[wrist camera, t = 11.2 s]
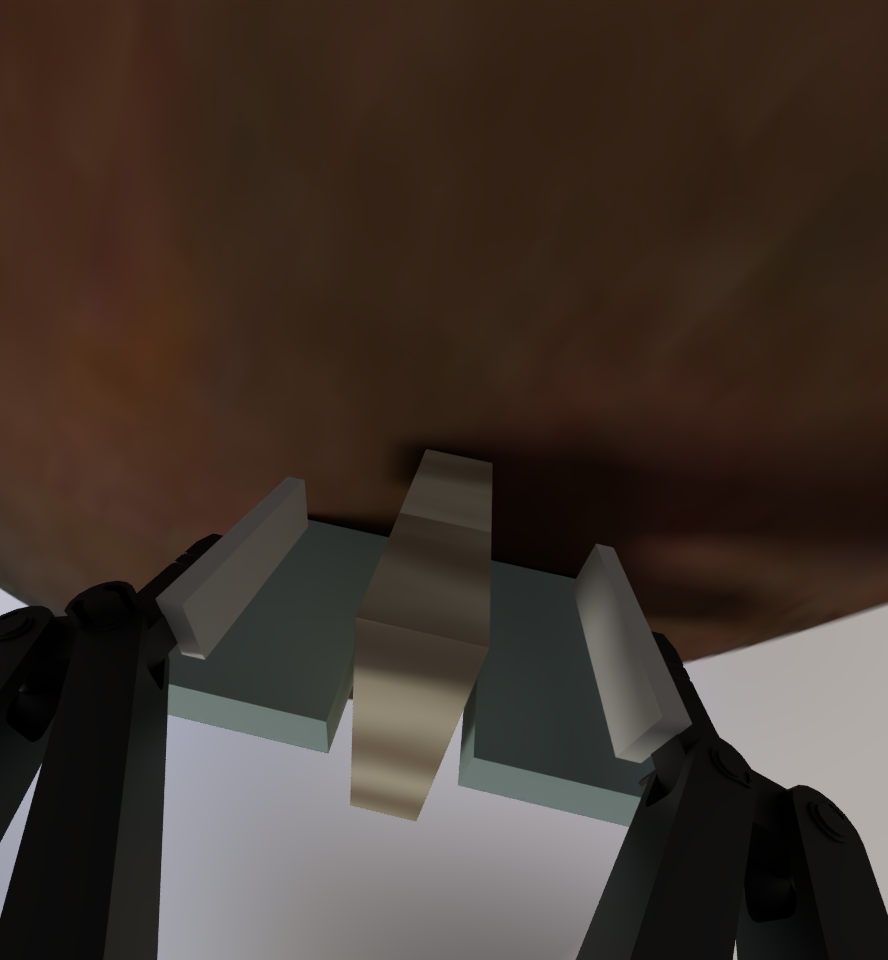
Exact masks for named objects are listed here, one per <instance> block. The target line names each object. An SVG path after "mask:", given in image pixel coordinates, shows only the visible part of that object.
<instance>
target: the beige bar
mask: <svg viewBox="0 0 888 960" xmlns="http://www.w3.org/2000/svg"><path fill="white" fill-rule="evenodd" d="M492 466H493V463H490V462H485V461H480V460H476V459H471V458H466V457H461V456H457V455H452V454H447V453H442V452H438V451H433V450H428V449H426V451H425V453H424V456H423V458H422V460H421V463H420V465H419V468H418V470H417V472H416V475H415V477H414V479H413V482H412V484H411V487H410V489H409V491H408V494H407V496H406V498H405V501H404V503H403V506H402V508H401V510H400V513H399V515H398V517H397V520H396V522H395V525H394V527H393V529H392V532H391V534H390V536H389V539H388V541H387V544H386V546H385V548H384V551H383V553H382V555H381V558H380V560H379V563H378V565H377V567H376V570H375V572H374V574H373V577H372V579H371V582H370V584H369V586H368V589H367V591H366V593H365V596H364V598H363V601H362V603H361V605H360V608H359V610H358V612H357V615H356V617H355V653H354V690H353V728H352V763H351V800H350V805H352V806H356V807H360V808H364V809H368V810H372V811H376V812H380V813H384V814H388V815H392V816H396V817H401V818H404V819H409V820H413V821H417V818H418V816H419V814H420V811H421V809H422V806H423V804H424V802H425V799H426V797H427V795H428V792H429V790H430V788H431V785H432V783H433V780H434V778H435V775H436V773H437V771H438V769H439V766H440V764H441V761H442V759H443V757H444V754H445V752H446V750H447V747H448V745H449V743H450V740H451V738H452V735H453V733H454V730H455V728H456V726H457V724H458V721H459V719H460V716H461V714H462V712H463V709H464V707H465V705H466V702H467V700H468V697H469V695H470V693H471V690H472V688H473V686H474V683H475V681H476V679H477V676H478V674H479V671H480V669H481V667H482V664H483V662H484V660H485V657H486V655H487V652H488V650H489V646H490V586H491V526H492Z"/></svg>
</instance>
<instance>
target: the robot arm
mask: <svg viewBox="0 0 888 960" xmlns="http://www.w3.org/2000/svg"><path fill="white" fill-rule="evenodd" d="M307 528H308V519H307V506H306V493H305V480H302V479H297V478H293V477H287V478H286V479H285V480H284V481H283V482H281V483H280V484H279V485H278V486H277V487H276V488H275V489H274V490H273V491H272V492H271V493H270V494H268V495H267V496H266V497H265V498H264V499H263V500H262V501H261V502H260V503H259V504H258V505H257V506H255V507H254V508H253V509H252V510H251V511H250V512H249V513H248V514H247V515H246V516H245V517H244V518H242V519H241V520H240V521H239V522H238V523H237V524H236V525H235V526H234V527H233V528H232V529H230V530H229V531H228V532H227V533H226V534H225V535H224V536H222V535H218V534H211V535H209V536H207V537H205V538H203V539H201V540H199V541H197V542H196V543H195V544H194V545H193V546H191V547H190V548H189V549H188V550H187V551H186V552H185V553H184V555H181V556H180V557H179V558H177V559H176V560H175V561H174V563H173V564H170V565H169V566H168V567H167V568H166V569H165V570H163V571H162V572H161V573H160V574H159V575H158V576H156V577H155V578H154V579H153V580H152V581H151V582H149V583H148V584H147V585H146V586H145V587H144V588H142V589H141V590H140V591H139V592H138V593H137V594H136V592H135V590H134V588H133V586H132V585H130V584H129V583H127V582H122V581H113V582H105V583H102V584H99V585H96V586H93V587H91V588H89V589H87V590H85V591H84V592H82V593H80V594H78V595H77V596H76V597H75V598H74V599H73V600H71V601H70V602H69V604H68V605H67V607H66V609H65V610H64V611H65V612H66V614H67V615H68V616H61V617H55V616H54V615H53V613H52V612H51V611H50V609H48V608H46V607H43V606H28V607H24V608H20V609H16V610H13V611H11V612H8V613H6V614H3V615H1V616H0V842H1V840H2V838H3V836H4V834H5V832H6V830H7V828H8V827H9V825H10V823H11V821H12V819H13V817H14V815H15V813H16V811H17V809H18V808H19V805H20V804H21V802H22V800H23V798H24V796H25V794H26V792H27V791H28V789H29V787H30V785H31V783H32V781H33V779H34V777H35V775H36V773H37V771H38V770H39V768H40V766H41V764H42V766H41V769H40V773H39V777H38V781H37V784H36V788H35V792H34V795H33V799H32V803H31V806H30V810H29V814H28V817H27V821H26V825H25V829H24V832H23V836H22V840H21V844H20V847H19V851H18V854H17V858H16V862H15V865H14V869H13V873H12V877H11V880H10V884H9V887H8V891H7V895H6V899H5V903H4V906H3V910H2V913H1V917H0V960H157V951H158V928H159V904H160V881H161V880H160V879H161V856H162V831H163V809H164V786H165V761H166V738H167V715H168V691H169V668H170V659H169V655H168V654H169V653H170V651H171V650H172V649H173V648H174V647H175V646H176V645H178V647H179V649H180V651H181V653H182V654H183V655H187V656H192V657H196V658H200V659H204V660H205V659H206V658H207V657H208V655H209V654H210V653H211V651H212V650H213V649H214V648H215V646H216V645H217V644H218V642H219V641H220V640H221V639H222V637H223V636H224V635H225V633H226V632H227V631H228V630H229V628H230V627H231V626H232V624H233V623H234V622H235V620H236V619H237V618H238V617H239V615H240V614H241V613H242V611H243V610H244V609H245V608H246V606H247V605H248V604H249V602H250V601H251V600H252V599H253V597H254V596H255V595H256V593H257V592H258V591H259V590H260V588H261V587H262V586H263V584H264V583H265V582H266V581H267V579H268V578H269V577H270V575H271V574H272V573H273V572H274V570H275V569H276V568H277V566H278V565H279V564H280V562H281V561H282V560H283V559H284V557H285V556H286V555H287V553H288V552H289V551H290V550H291V548H292V547H293V546H294V544H295V543H296V542H297V541H298V539H299V538H300V537H301V535H302V534H303V533H304V532H305V530H306V529H307ZM572 587H573V591H574V595H575V599H576V603H577V607H578V611H579V614H580V618H581V622H582V626H583V630H584V634H585V638H586V642H587V646H588V650H589V654H590V658H591V662H592V666H593V670H594V674H595V677H596V681H597V685H598V689H599V693H600V697H601V701H602V705H603V709H604V713H605V717H606V721H607V725H608V729H609V733H610V737H611V741H612V744H613V748H614V752H615V756H616V757H617V758H621V759H625V760H629V761H633V762H638V763H642V762H643V761H644V760H646V759H647V758H648V757H650V756H651V757H652V760H653V763H654V766H655V770H654V771H652V772H651V773H649V774H648V775H646V776H645V777H644V778H642V779H641V780H640V782H639V783H638V784H639V785H640V786H641V787H643V786H644V785H646V784H647V785H646V787H645V790H644V792H643V795H642V797H641V799H640V802H639V804H638V807H637V809H636V812H635V814H634V817H633V819H632V822H631V824H630V827H629V829H628V832H627V834H626V837H625V839H624V842H623V844H622V847H621V849H620V852H619V854H618V857H617V859H616V861H615V864H614V867H613V869H612V871H611V874H610V876H609V879H608V881H607V884H606V886H605V889H604V891H603V894H602V897H601V899H600V901H599V904H598V906H597V909H596V911H595V914H594V916H593V919H592V921H591V924H590V926H589V929H588V931H587V934H586V936H585V938H584V941H583V943H582V946H581V948H580V951H579V954H578V956H577V958H576V960H733V953H734V946H735V940H736V947H737V959H738V960H888V915H887V912H886V908H885V906H884V903H883V900H882V897H881V894H880V891H879V888H878V885H877V882H876V879H875V876H874V873H873V870H872V867H871V864H870V861H869V859H868V856H867V853H866V850H865V847H864V844H863V842H862V840H861V838H860V836H859V834H858V832H857V830H856V829H855V827H854V826H853V825H852V823H851V822H850V821H849V820H848V818H847V817H846V816H845V814H843V812H842V811H841V810H840V809H839V808H838V807H837V806H836V805H835V804H834V803H833V802H832V801H831V800H829V799H828V798H826V797H825V796H824V795H823V794H821V793H820V792H819V791H817V790H815V789H813V788H811V787H809V786H804V785H797V786H795V787H792V788H790V789H788V790H787V789H785V788H784V787H782V786H780V785H779V784H777V783H775V782H773V781H771V780H770V779H768V778H766V777H764V776H762V775H761V774H759V773H757V772H755V771H754V770H752V769H751V768H750V766H749V765H748V764H747V762H746V761H745V759H744V758H743V757H742V755H741V754H740V753H739V752H738V751H737V750H736V749H735V748H734V747H733V746H732V745H730V744H729V743H727V742H726V741H724V740H723V739H721V738H720V737H719V735H718V734H717V732H716V730H715V728H714V726H713V724H712V722H711V720H710V718H709V716H708V714H707V712H706V710H705V708H704V706H703V704H702V702H701V700H700V698H699V696H698V694H697V692H696V690H695V688H694V685H693V683H692V682H691V681H690V677H689V675H688V673H687V671H686V669H685V668H683V663H682V661H681V659H680V657H679V655H678V653H677V651H676V649H675V648H674V647H673V645H672V644H671V643H670V642H669V641H668V639H667V638H666V637H665V636H664V635H663V634H661V633H656V632H652V631H651V630H650V628H649V626H648V624H647V622H646V619H645V617H644V615H643V613H642V610H641V608H640V606H639V604H638V601H637V599H636V597H635V595H634V592H633V590H632V588H631V586H630V584H629V581H628V579H627V577H626V575H625V572H624V570H623V568H622V566H621V563H620V561H619V559H618V557H617V554H616V552H615V550H614V548H613V547H609V546H604V545H599V544H595V546H594V548H593V550H592V551H591V553H590V555H589V557H588V559H587V560H586V562H585V564H584V566H583V567H582V569H581V571H580V573H579V574H578V576H577V578H576V580H575V582H574V583H573V585H572Z"/></svg>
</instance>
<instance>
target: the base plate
mask: <svg viewBox="0 0 888 960" xmlns="http://www.w3.org/2000/svg"><path fill="white" fill-rule="evenodd" d="M388 539H389V537H384V536H380V535H375V534H371V533H366V532H362V531H357V530H353V529H348V528H344V527H339V526H335V525H330V524H326V523H321V522H317V521H312V520H308V528H307V529H306V530H305V532H304V533H303V534H302V535H301V537H300V538H299V539H298V541H297V542H296V543H295V544H294V546H293V547H292V548H291V550H290V551H289V552H288V553H287V555H286V556H285V557H284V559H283V560H282V561H281V562H280V564H279V565H278V566H277V568H276V569H275V570H274V572H273V573H272V574H271V575H270V577H269V578H268V579H267V581H266V582H265V583H264V584H263V586H262V587H261V588H260V590H259V591H258V592H257V593H256V595H255V596H254V597H253V599H252V600H251V601H250V602H249V604H248V605H247V606H246V608H245V609H244V610H243V611H242V613H241V614H240V615H239V617H238V618H237V619H236V620H235V622H234V623H233V624H232V626H231V627H230V628H229V630H228V631H227V632H226V633H225V635H224V636H223V637H222V639H221V640H220V641H219V642H218V644H217V645H216V646H215V648H214V649H213V650H212V651H211V653H210V654H209V655H208V657H207V658H206V659H205V660H204V659H200V658H196V657H192V656H187V655H183V654H182V653H181V651H180V649H179V647H178V645H176V646H175V647H174V648H173V649H172V650H171V651H170V653H169V654H168V655H169V659H170V668H169V691H168V715H172V716H176V717H180V718H184V719H188V720H193V721H197V722H201V723H205V724H209V725H213V726H217V727H221V728H225V729H229V730H234V731H238V732H242V733H246V734H250V735H254V736H258V737H262V738H266V739H270V740H274V741H279V742H283V743H287V744H291V745H295V746H299V747H303V748H308V749H311V750H316V751H320V752H324V753H329V750H330V747H331V744H332V742H333V739H334V736H335V733H336V730H337V728H338V725H339V722H340V719H341V716H342V713H343V711H344V708H345V705H346V702H347V700H348V697H349V694H350V691H351V688H352V686H353V683H354V653H355V617H356V615H357V612H358V610H359V608H360V605H361V603H362V601H363V598H364V596H365V593H366V591H367V589H368V586H369V584H370V582H371V579H372V577H373V574H374V572H375V570H376V567H377V565H378V563H379V560H380V558H381V555H382V553H383V551H384V548H385V546H386V544H387V541H388ZM575 580H576V579H573V578H569V577H564V576H560V575H555V574H551V573H546V572H542V571H537V570H533V569H528V568H524V567H519V566H515V565H510V564H506V563H501V562H497V561H492V560H491V586H490V646H489V650H488V652H487V655H486V657H485V660H484V662H483V664H482V667H481V669H480V671H479V674H478V676H477V679H476V681H475V683H474V686H473V688H472V690H471V693H470V695H469V697H468V700H467V702H466V705H465V707H464V713H463V726H462V740H461V753H460V766H459V779H458V785H460V786H463V787H468V788H472V789H476V790H480V791H484V792H488V793H492V794H496V795H501V796H504V797H508V798H513V799H517V800H521V801H525V802H529V803H533V804H537V805H541V806H546V807H550V808H554V809H558V810H562V811H566V812H570V813H574V814H578V815H582V816H587V817H590V818H595V819H599V820H603V821H607V822H611V823H615V824H619V825H623V826H628V827H630V824H631V822H632V819H633V817H634V814H635V812H636V809H637V807H638V804H639V802H640V799H641V797H642V795H643V792H644V790H645V787H646V785H647V784H646V785H644V786H643V787H641V786H640V785H639V784H638V783H639V782H640V780H641V779H642V778H644V777H645V776H646V775H648V774H649V773H651V772H652V771H654V770H655V766H654V763H653V760H652V757H651V756H650V757H648V758H647V759H646V760H644V761H643V762H642V763H638V762H633V761H629V760H625V759H621V758H617V757H616V756H615V752H614V748H613V744H612V741H611V737H610V733H609V729H608V725H607V721H606V717H605V713H604V709H603V705H602V701H601V697H600V693H599V689H598V685H597V681H596V677H595V674H594V670H593V666H592V662H591V658H590V654H589V650H588V646H587V642H586V638H585V634H584V630H583V626H582V622H581V618H580V614H579V611H578V607H577V603H576V599H575V595H574V591H573V587H572V585H573V583H574V582H575Z"/></svg>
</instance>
